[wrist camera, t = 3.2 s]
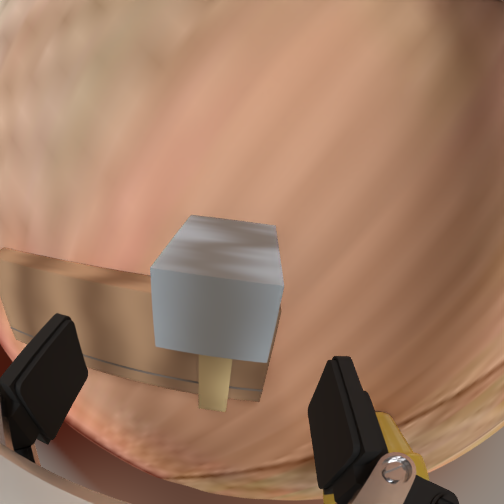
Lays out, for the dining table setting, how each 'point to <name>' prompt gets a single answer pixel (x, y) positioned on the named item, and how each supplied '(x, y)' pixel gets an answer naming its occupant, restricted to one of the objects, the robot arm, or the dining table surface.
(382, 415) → the plant pot
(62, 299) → the board
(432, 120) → the dining table surface
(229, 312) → the wooden handled gray mallet
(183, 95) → the dining table surface
